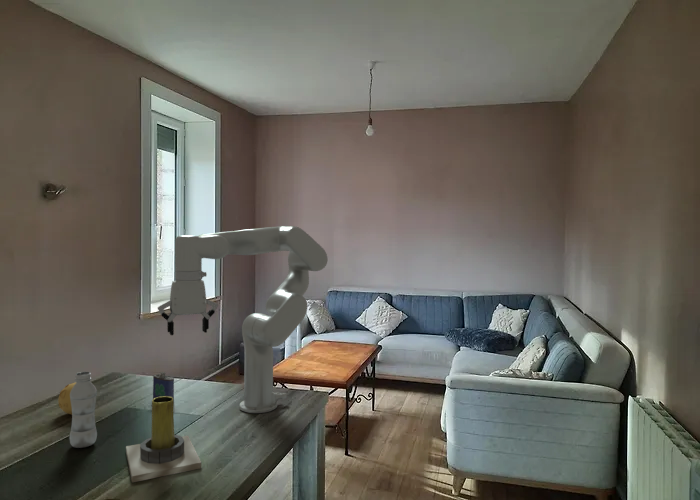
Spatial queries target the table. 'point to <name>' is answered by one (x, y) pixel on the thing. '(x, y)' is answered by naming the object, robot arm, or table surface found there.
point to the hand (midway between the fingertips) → (188, 333)
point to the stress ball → (66, 399)
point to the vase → (162, 423)
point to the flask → (163, 386)
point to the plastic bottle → (83, 411)
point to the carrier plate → (161, 459)
